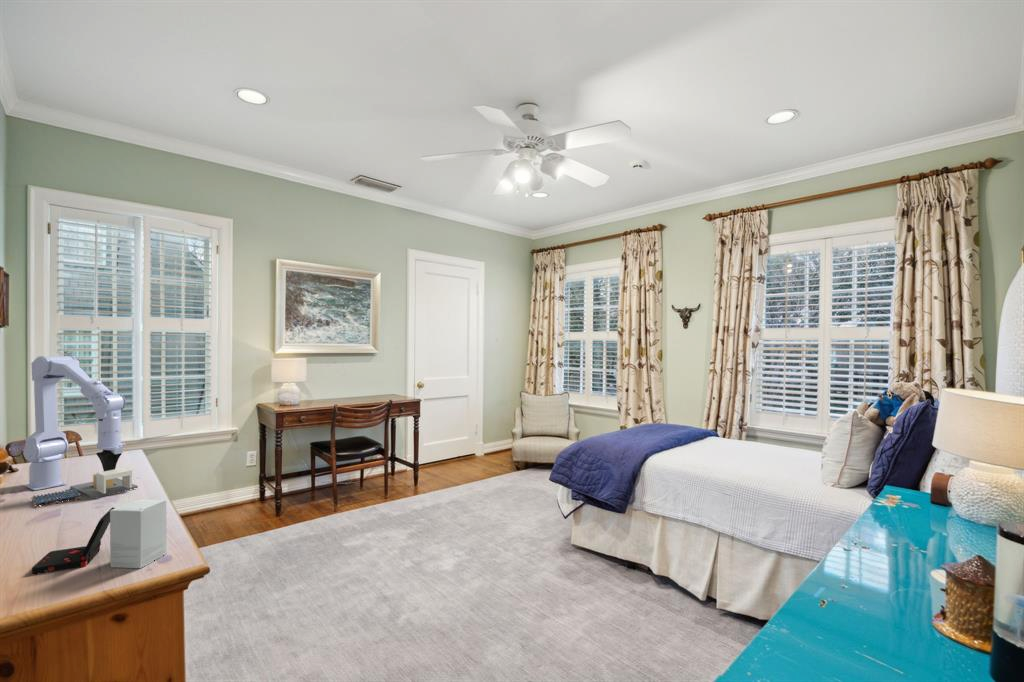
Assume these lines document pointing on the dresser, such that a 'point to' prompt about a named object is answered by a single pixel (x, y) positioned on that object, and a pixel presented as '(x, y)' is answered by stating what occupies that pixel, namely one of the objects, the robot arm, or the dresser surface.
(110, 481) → the ochre block
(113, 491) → the puzzle board
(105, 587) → the dresser surface
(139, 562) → the supplement box
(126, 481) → the cover
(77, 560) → the handheld gaming console
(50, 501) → the woven mat
